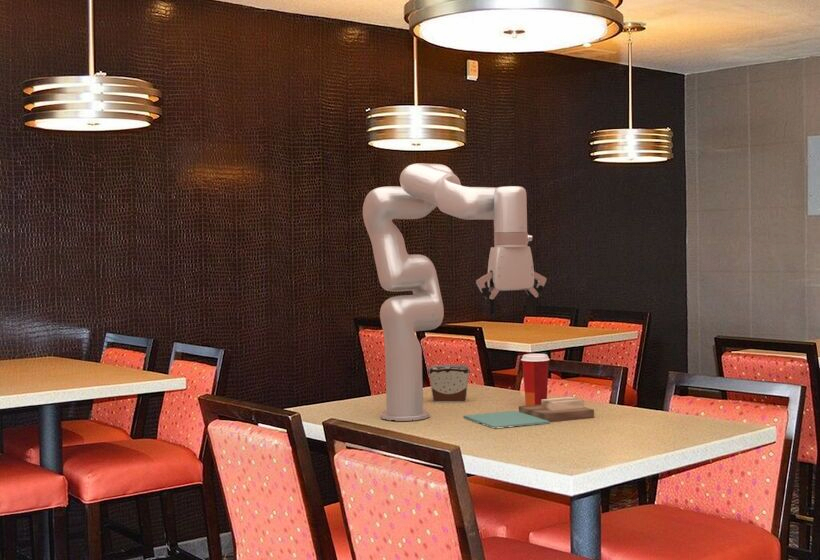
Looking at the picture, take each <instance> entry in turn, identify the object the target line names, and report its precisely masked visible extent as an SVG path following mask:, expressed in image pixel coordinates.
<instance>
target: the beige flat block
mask: <svg viewBox="0 0 820 560" xmlns="http://www.w3.org/2000/svg"><path fill="white" fill-rule="evenodd" d="M541 402H542V407H543V408H546V409H550V410H553V411H554V410H564V409H575V408H584V407H585V403H584V402H585V401H584V399H582V398H577V397H574V396H566V397H556V398H555V397H554V398H547V399H541Z"/></svg>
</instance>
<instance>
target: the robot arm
mask: <svg viewBox="0 0 820 560" xmlns="http://www.w3.org/2000/svg"><path fill="white" fill-rule="evenodd" d="M399 183H400V186H396V185H395V186H393V185H391V186H390V185H388V186H379V187H376V188H374V189H372V190H370V191H369V192H368V193H367V195H365V199H364V201H363V206H362V218H363V223H364V226H365V229H366V231H367V234H368V236H369V240H370V242H371V246H372V247H371V248H372V252H373V257H374V262H375V267H376V271H377V273H376V274H377V276H378V281H379V284H380V286H381V288H383V290H385V291H387V292H411V291H412V294H408V295H407V294H405V295H395V296H391V297H389V298H387V299H386V300H385V301H384V302H383V303H382V304H381V307H380V310H379V319H380V323H381V327H382V332H383V333H382V334H383V339H384V359H385V365H384V366H385V398H386V400H385V402H386V405H385V406H386V410H385V411H382V412H381V413H380V419H383V420H385V419H386V420H385V421H391V420H395V422H410V421H411V422H412V420H413V421H421V420H424V419H428V418H429V417H430V411H428V410H425V409H424V397H423V396H424V391H423V389H424V388H423V387H424V386H423V356H422V355H423V352H422V351H423V350H422V346H421V343H420V340H419V339H418V338H417V336H416V333H415V332H422V331H431V330H436V329H437V328H438V327H440V326H441V324H442V323H443V319H444V313H445V312H444V311H445V310H444V303H443V298H442V293H441V289H440V288H441V287H440V283H439V279H438V274H437V269H436V268H435V265H434V263H433V261H432V260H431V259H430V258H429V257H427V256H426V255H423V254H410V253H408V251H407V248H406V243H405V239H404V237H403V233H402V232H401V231H400V229H399V228H398V226H396V224H395V223H394V222H393V220H418V219H419V220H420V219H421V218H424V217H426V216H427V215H429V214H430V213H431V212H432V211H434V210H435V209H436V208H438V209H439V210H440V212H442V213H444V214H447V215H449V216H451V217H455V218H457V219H460V220H461V219H462V220H467V221H468V220H470V221H471V220H473V221H474V220H485V221H486V220H487V221H488V220H493V236H494V237H493V238H494V239H493V241H494V242H493V245H494V247H493V246H491V247H490V250H489V255H488V256H489V257H488V265H487V273H486V274H484V275H482V276H480V278H478V279H476V280H475V284H476V287H477V288H478V289H479V292H480V293H481V294H482V295H483V296H484V298H485V299H486V309H487V314H488V316H489V317H492V318H497V317H498V300H497V299H496V296H497V295H498V294H499V292H500V291H523V290H524V292H526V293H527V297H526V315H530V316H536V313H537V312H536V311H537V310H538V309H537V308H538V307H537V304H538V303H537V298H538V297H540V296H539V295H540V294H541V292H542V291H543V290H544V287H545V285H546V283H547V277H545V276H544V275H541V274H540V273H538V272H537V271H535V270H534V269H535V268H534V261H533V260H534V259H533V255H532V249H531V247H530V246H528V244H529V242H532V241H533V235H530V234H529V233H528V213H527V212H528V210H527V208H528V207H527V205H528V204H527V201H528V200H527V197H528V196H527V191H526V188H524V187H523V186H519V185H517V186H516V185H514V186H513V185H510V186H509V185H508V186H506V185H505V186H499V187H489V186H488V187H487V186H466V185H465V186H464V185H462V184H461V180H460V178H459V177H458V176H457V175H456V174H455V173H454V172H453V170H452V169H451V168H450V167H448V166H447V165H444V164H440V163H425V162H424V163H420V162H419V163H411V164H409V165H407V166H406V167H405V168H404V169H403V170H402V171H401V173H400V176H399ZM535 280H536V281H537V284H536V286H535ZM486 282H487V287H486V285H485V283H486ZM534 286H535V287H534ZM488 288H489V289H488Z"/></svg>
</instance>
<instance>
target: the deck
mask: <svg viewBox="0 0 820 560" xmlns="http://www.w3.org/2000/svg"><path fill="white" fill-rule="evenodd" d="M518 412H521V413H525V414H528V415H531V416H534V417H538V418H541V419H544V420H547V421H550V423H552V422H554V423H555V422H561V421H563V422H564V421H572V420H584V419H594V418H595V409H593V408H589V407H585V406H584V408H575V409H564V410H554V411H553V410H550V409H546V408H543V407H542V404H540V405H529V406H526V405H521V406H518Z"/></svg>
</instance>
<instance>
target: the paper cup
mask: <svg viewBox="0 0 820 560" xmlns="http://www.w3.org/2000/svg"><path fill="white" fill-rule="evenodd" d="M520 361H522V373H523V374H522V375H523V376H522V377H523V385H524V387H523V388H524V399H525V406H529V405H540V404H542V402H541V399H548V386H549V385H548V382H549V361H550V358H549V356H548V354H546V353H526V354H523V355H522V356H521V359H520Z"/></svg>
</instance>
